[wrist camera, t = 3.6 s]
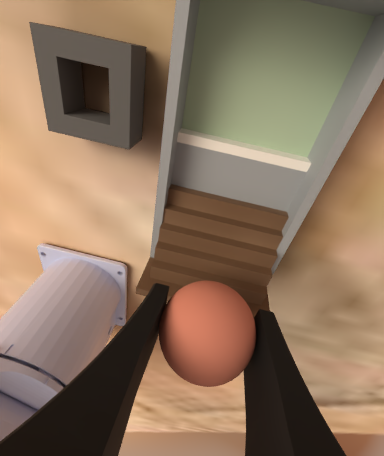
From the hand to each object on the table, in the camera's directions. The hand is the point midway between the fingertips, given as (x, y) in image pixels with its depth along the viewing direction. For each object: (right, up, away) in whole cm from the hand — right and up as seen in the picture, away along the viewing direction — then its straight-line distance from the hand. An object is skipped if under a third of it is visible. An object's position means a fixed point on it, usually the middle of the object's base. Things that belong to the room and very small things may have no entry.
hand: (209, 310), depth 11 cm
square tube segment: (-5, +11, +2) cm, 13 cm away
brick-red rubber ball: (0, -1, -1) cm, 1 cm away
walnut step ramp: (+1, +4, +6) cm, 7 cm away
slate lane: (+2, +8, +3) cm, 9 cm away
